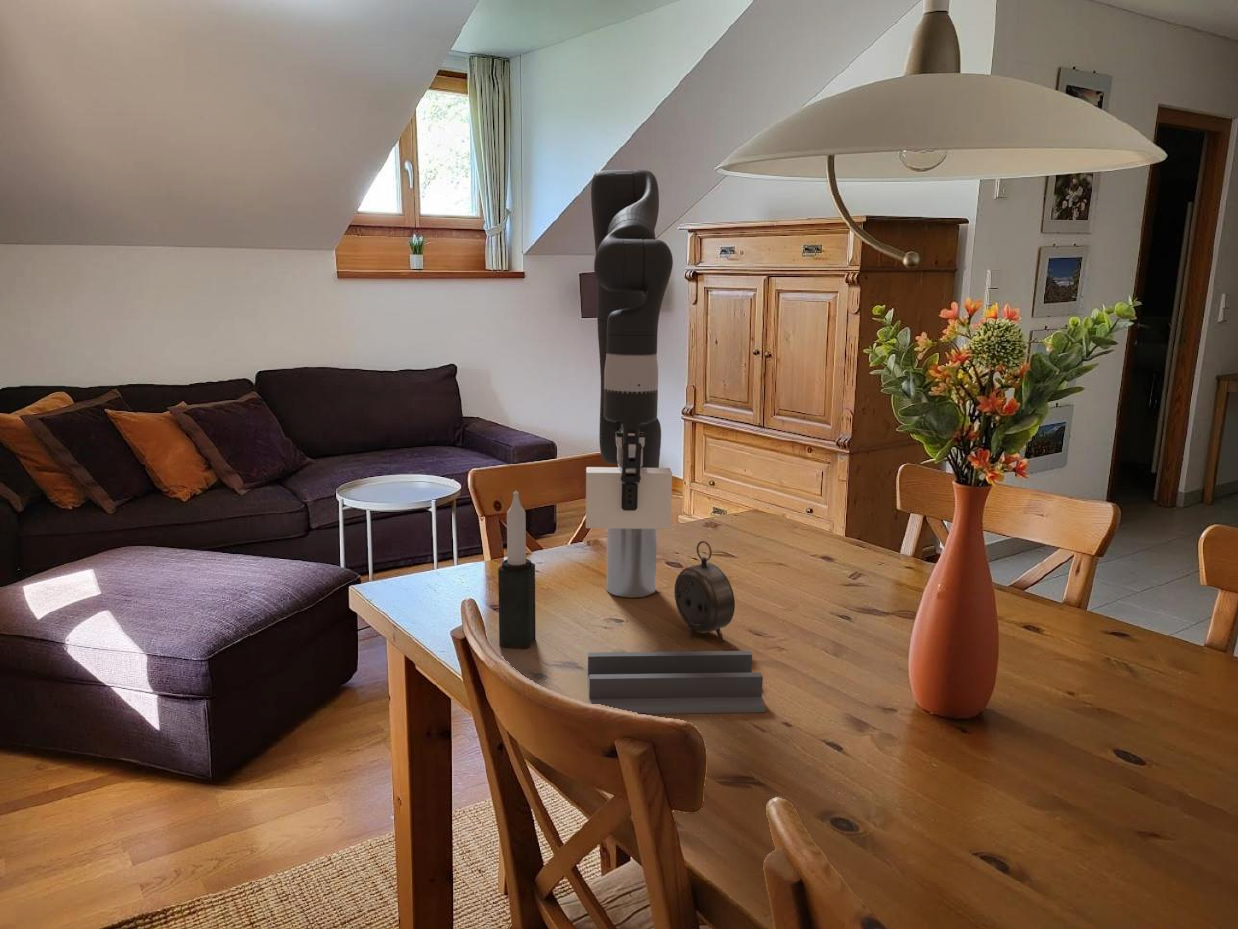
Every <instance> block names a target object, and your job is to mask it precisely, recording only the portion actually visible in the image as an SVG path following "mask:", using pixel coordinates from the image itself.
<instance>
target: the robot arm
mask: <svg viewBox="0 0 1238 929" xmlns="http://www.w3.org/2000/svg"><path fill="white" fill-rule="evenodd" d="M590 184H591V186H590V202H591V203H590V204H591V206H590V207H591V216H592V226H593V236H594V237H593V240H594V247H595V248H594V249H595V255H594V263H593V271H594V272H593V273H594V277H595V279H596V286H597V287H596V292H597V294H596V296H597V297H596V298H597V299H596V303H597V305H596V309H597V310H596V314H597V315H596V316H597V320H596V321H597V338H598V350H599V352H598V353H599V365H600V366H599V370H600V372H599V374H600V399H599V400H600V402H599V403H600V404H599V450H600V455H601V457H602V459H603V461H604V462H606V463H608V464H612V465H615V464H616V465H617V467H620V468H621V478H620V482H621V484H622V504H621V506H622V509H623V510H625V511H635V510H636V509H637V500H638V484H639V483H640V480H641V476H640V468H660V459H661V458H660V457H661V448H662V428H661V422H660V420H659V418H658V403H659V402H658V400H659V399H658V396H659V395H658V394H659V366H658V330H659V329H658V328H659V320H660V312H661V308H662V304H663V300H664V296H665V293H666V292H667V291H666V290H667V288H668V284H669V282H670V281H669V280H670V278H671V275H672V271H673V265H674V261H673V260H674V259H673V255H672V254H673V253H672V250H671V249H670V247H669V246H668V244H667V243H666V242H664V241H663V240H661V239H656V233H655V232H656V231H655V229H656V226H657V222H658V217H659V210H660V196H659V195H660V194H659V193H660V192H659V185H658V181H657V178H656V176H655V174H654V173H653V172H651V171H649V170H648V169H647V170H646V169H609V170H608V169H607V170H598V171H597V172H595V173H594V175H593V176H592V178H591V183H590ZM627 468H635V474H626V469H627ZM606 534H607V536H606V591H607V592H608V593H609V594H611V595H614V596H616V597H621V598H643V597H647V596H650V595H652V594H654V593H656V586H657V585H656V584H657V546H658V544H657V543H658V542H657V541H658V540H657V538H658V535H657V534H658V529H620V528H606Z"/></svg>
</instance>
